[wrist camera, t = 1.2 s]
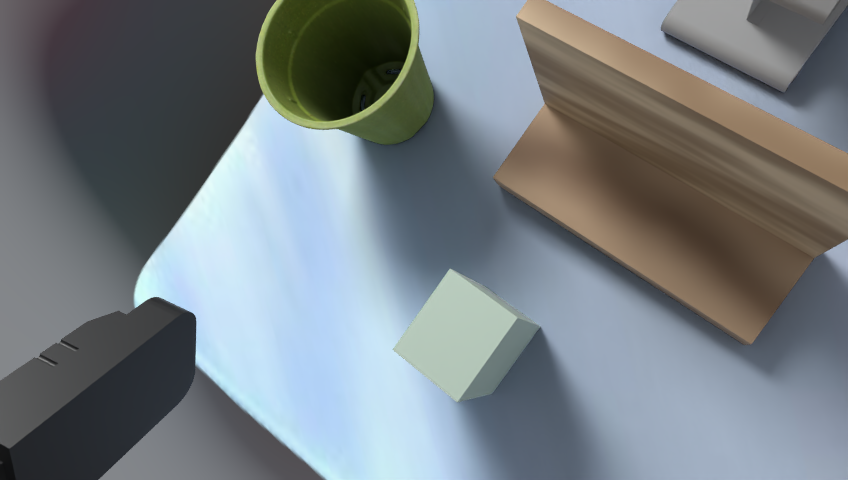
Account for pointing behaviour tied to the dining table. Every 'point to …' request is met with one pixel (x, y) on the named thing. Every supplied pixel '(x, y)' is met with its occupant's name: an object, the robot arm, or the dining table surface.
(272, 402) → the dining table surface
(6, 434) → the robot arm
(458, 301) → the cabinet
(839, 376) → the dining table surface
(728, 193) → the wooden stand
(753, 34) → the tablet stand
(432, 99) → the plant pot
